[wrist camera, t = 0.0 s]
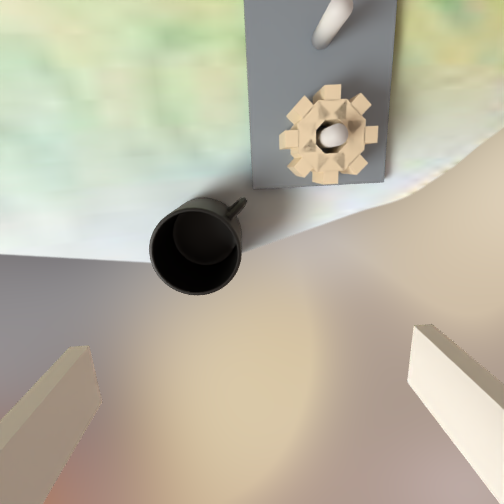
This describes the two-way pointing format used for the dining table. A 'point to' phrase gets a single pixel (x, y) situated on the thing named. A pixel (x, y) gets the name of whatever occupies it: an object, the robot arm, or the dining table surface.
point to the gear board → (318, 90)
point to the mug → (198, 246)
